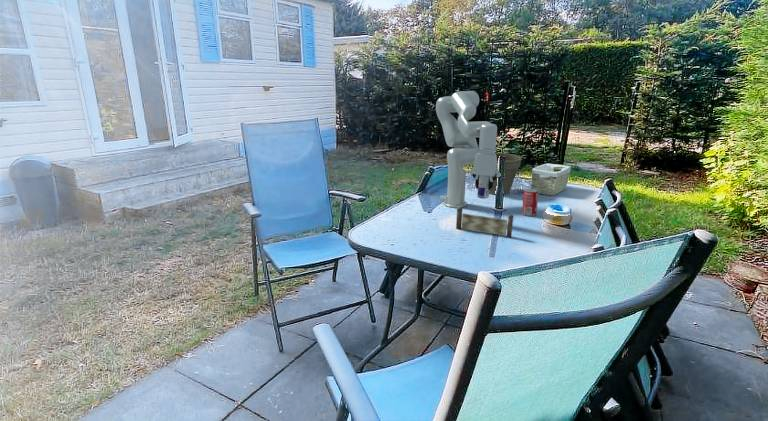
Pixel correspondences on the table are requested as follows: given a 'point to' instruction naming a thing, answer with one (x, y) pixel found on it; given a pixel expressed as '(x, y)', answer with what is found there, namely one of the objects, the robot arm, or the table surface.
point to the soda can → (530, 202)
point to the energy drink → (483, 187)
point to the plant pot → (507, 172)
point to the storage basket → (550, 178)
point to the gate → (484, 224)
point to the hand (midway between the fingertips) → (483, 188)
